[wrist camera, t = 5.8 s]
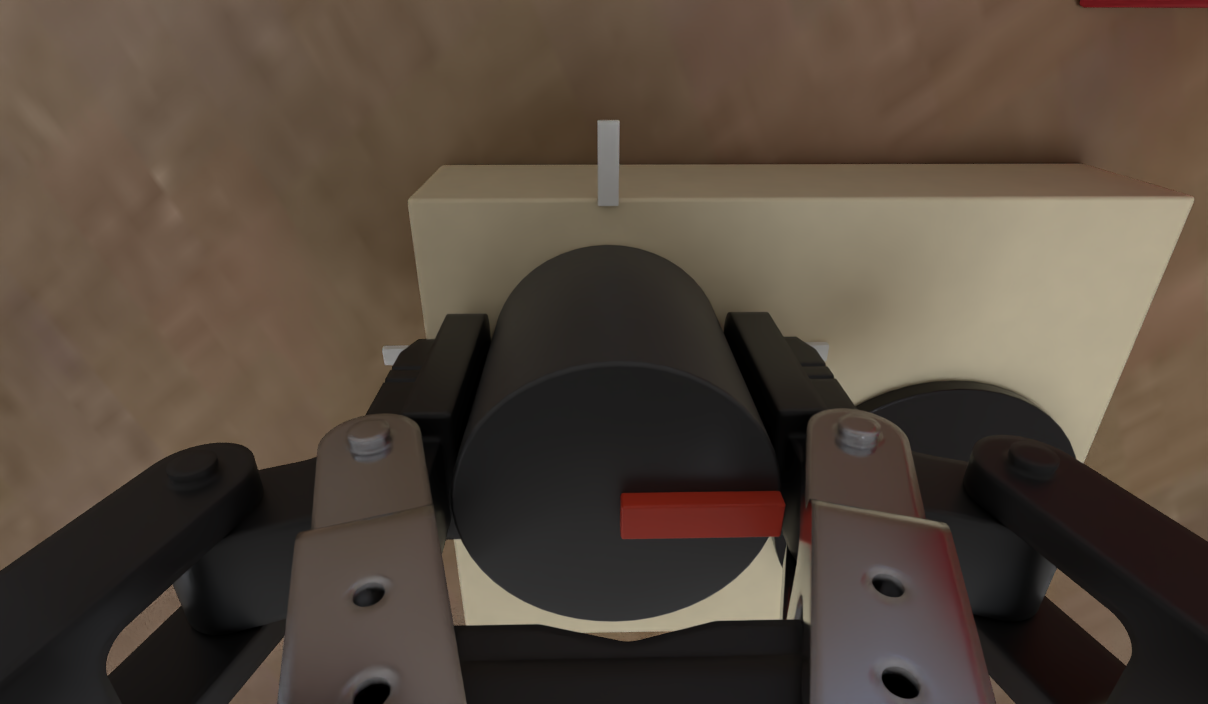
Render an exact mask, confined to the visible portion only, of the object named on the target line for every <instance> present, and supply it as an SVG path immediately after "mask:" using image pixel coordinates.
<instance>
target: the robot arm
mask: <svg viewBox="0 0 1208 704" xmlns="http://www.w3.org/2000/svg"><path fill="white" fill-rule="evenodd" d="M724 335H725V337H726V339H727V342H728V344H729V346H730V349H731V351H732V353H733V356H734V358H735V360H736V362H737V365H738V367H739V369H740V372H741V374H742V376H743V379H744V381H745V383H746V385H747V388H748V390H749V392H750V395H751V397H752V399H753V402H754V404H755V406H756V408H757V411H758V413H759V415H760V418H761V420H762V422H763V425H764V427H765V429H766V431H767V434H768V436H769V438H770V441H771V443H772V445H773V448H774V450H775V453H776V456H777V460H778V464H779V468H780V477H781V494H782V497H783V499H784V502H785V504H786V506H785V512H784V518H783V524H782V530H781V535H784V538H785V540H786V543H787V545H786V550H785V556H784V562H783V570H782V586H781V603H780V619H779V620H732V621H713V622H709V623H705V624H701V625H697V626H693V627H689V628H685V629H681V630H677V631H673V632H669V633H665V634H661V635H657V636H653V637H650V638H646V639H642V640H637V641H629V642H625V641H618V640H613V639H608V638H604V637H599V636H594V635H589V634H584V633H579V632H575V631H570V630H565V629H560V628H555V627H551V626H546V625H541V624H516V625H462V626H454V625H453V619H452V613H451V607H450V601H449V595H448V589H447V583H446V577H445V571H444V565H443V559H442V552H443V548H444V545H445V541H446V539H461V538H460V536H459V533H458V531H457V528H456V526H455V522H454V517H453V513H452V508H451V492H450V490H451V481H452V473H453V469H454V466H455V463H456V459H457V456H458V452H459V449H460V446H461V442H462V439H463V435H464V432H465V429H466V425H467V422H468V418H469V415H470V412H471V408H472V405H473V402H474V398H475V395H476V391H477V388H478V385H479V381H480V378H481V374H482V371H483V368H484V364H485V361H486V358H487V354H488V351H489V347H490V344H491V333H490V324H489V318H488V315H487V314H486V313H485V314H447V315H446V316H445V319H444V321H443V323H442V325H441V327H440V329H439V331H438V333H437V336H436V338H435V339H418V340H417V341H416V342H414V343H413V344H411V345H410V346H408V347H407V348H406V349H404V350H403V351H401V352H400V354H399V355H398V357H397V359H396V361H395V363H394V364H393V366H392V370H390V372H389V373H388V375H387V377H386V379H385V383H383V384H382V386H381V388H380V390H379V392H378V393H377V395H376V397H375V399H374V401H373V402H372V404H371V406H370V408H369V410H368V411H367V413H366V415H365V416H360V417H357V418H354V419H351V420H348V421H346V422H344V423H342V424H340V425H338V426H336V427H335V428H333V429H332V430H330V431H329V432H328V433H327V434H326V435H325V436H324V437H323V438H322V439H321V441H320V443H319V445H318V449H317V457H315V458H312V459H309V460H305V461H300V462H296V463H291V464H286V465H281V466H276V467H271V468H266V469H262V470H258V468H257V465H256V461H255V458H254V455H253V453H252V452H251V451H250V450H249V449H248V448H246V447H244V446H242V445H239V444H234V443H210V444H204V445H199V446H195V447H191V448H188V449H185V450H182V451H179V452H177V453H174V454H172V455H169V456H168V457H166V458H164V459H162V460H160V461H158V462H157V463H155V464H154V465H152V466H151V467H149V468H148V469H146V470H145V471H143V472H142V473H140V474H139V475H138V476H136V477H135V478H133V479H132V480H130V481H129V482H128V483H126V484H125V485H123V486H122V487H120V488H119V489H117V490H116V491H115V492H113V493H112V494H110V495H109V496H107V497H106V498H105V499H103V500H102V501H100V502H99V503H97V504H96V505H94V506H93V507H92V508H90V509H89V510H87V511H86V512H84V513H83V514H81V515H80V516H79V517H77V518H76V519H74V520H73V521H71V522H70V523H69V524H67V525H66V526H64V527H63V528H61V529H60V530H58V531H57V532H56V533H54V534H53V535H51V536H50V537H48V538H47V539H46V540H44V541H43V542H41V543H40V544H38V545H37V546H35V547H34V548H33V549H31V550H30V551H28V552H27V553H25V554H24V555H22V556H21V557H20V558H18V559H17V560H15V561H14V562H12V563H11V564H10V565H8V566H7V567H5V568H4V569H2V570H1V571H0V704H228V703H229V702H230V701H231V700H232V699H233V697H234V696H235V695H236V694H237V693H238V691H239V690H240V689H241V688H242V686H243V685H244V684H245V683H246V682H247V680H248V679H249V678H250V677H251V676H252V674H253V673H254V672H255V671H256V670H257V668H258V667H259V666H260V665H261V664H262V662H263V661H264V660H265V659H266V657H267V656H268V655H269V654H270V653H271V651H272V650H273V649H274V648H275V647H276V645H277V644H278V643H279V642H280V641H281V639H282V638H283V637H284V636H285V637H284V646H283V655H282V665H281V674H280V683H279V692H278V701H277V704H996V701H995V697H994V693H993V689H992V685H991V682H990V678H989V675H990V677H991V678H992V679H993V680H994V681H995V682H996V683H997V684H998V685H999V686H1000V687H1001V688H1002V689H1003V690H1004V692H1005V693H1006V694H1007V695H1008V696H1009V697H1010V698H1011V699H1012V700H1013V701H1014V702H1015V703H1016V704H1208V542H1207V541H1206V540H1204V539H1203V538H1201V537H1199V536H1198V535H1196V534H1195V533H1193V532H1191V531H1190V530H1188V529H1187V528H1185V527H1184V526H1182V525H1180V524H1179V523H1177V522H1176V521H1174V520H1172V519H1171V518H1169V517H1168V516H1166V515H1164V514H1163V513H1161V512H1160V511H1158V510H1156V509H1155V508H1153V507H1152V506H1150V505H1149V504H1147V503H1145V502H1144V501H1142V500H1141V499H1139V498H1137V497H1136V496H1134V495H1133V494H1131V493H1129V492H1128V491H1126V490H1125V489H1123V488H1122V487H1120V486H1118V485H1117V484H1115V483H1114V482H1112V481H1110V480H1109V479H1107V478H1106V477H1104V476H1102V475H1101V474H1099V473H1098V472H1096V471H1094V470H1093V469H1091V468H1090V467H1088V466H1087V465H1085V464H1083V463H1082V462H1080V461H1079V460H1077V459H1075V458H1074V457H1072V456H1071V455H1069V454H1067V453H1065V452H1064V451H1062V450H1060V449H1058V448H1056V447H1053V446H1051V445H1049V444H1046V443H1043V442H1040V441H1037V440H1034V439H1030V438H1025V437H1020V436H1014V435H993V436H988V437H984V438H982V439H980V440H978V441H977V442H976V443H975V445H974V447H973V450H972V453H971V456H970V459H969V462H966V461H961V460H955V459H949V458H944V457H938V456H933V455H927V454H923V453H918V452H915V451H911V448H910V443H909V440H908V437H907V436H906V434H905V433H904V432H903V431H902V430H901V429H900V428H899V427H898V426H896V425H895V424H894V423H892V422H890V421H889V420H887V419H885V418H883V417H881V416H878V415H875V414H873V413H869V412H866V411H861V410H858V409H857V408H856V407H855V405H854V404H853V402H852V401H851V399H850V398H849V396H848V395H847V394H846V392H845V391H844V389H843V388H842V386H841V385H840V383H839V382H838V381H837V379H834V375H833V373H832V372H831V370H830V369H829V368H828V366H826V363H825V362H824V360H823V359H822V357H821V356H820V355H819V353H818V352H817V350H816V349H815V348H813V347H812V346H810V345H809V344H807V343H805V342H804V341H802V340H801V339H799V338H798V337H796V336H795V337H783V335H782V333H781V332H780V330H779V328H778V327H777V325H776V324H775V322H774V320H773V319H772V317H771V315H770V314H769V313H768V312H728V313H727V315H726V319H725V324H724ZM1057 568H1058V569H1059V570H1060V571H1062V572H1063V573H1064V574H1065V575H1067V576H1068V577H1069V578H1070V579H1072V580H1073V581H1074V582H1075V583H1077V584H1078V585H1079V586H1080V587H1082V588H1083V589H1084V590H1085V591H1087V592H1088V593H1089V594H1090V595H1091V596H1093V597H1094V598H1095V599H1096V600H1098V601H1099V602H1100V603H1101V604H1103V605H1104V606H1105V607H1106V608H1108V609H1109V610H1110V611H1111V612H1112V613H1113V614H1114V615H1115V616H1116V617H1117V618H1118V619H1119V620H1120V621H1121V623H1122V624H1123V625H1124V627H1125V629H1126V631H1127V632H1128V635H1129V637H1130V640H1131V644H1132V656H1131V658H1130V661H1129V662H1128V664H1127V666H1126V665H1124V664H1123V663H1122V662H1121V661H1120V660H1119V659H1117V658H1116V657H1115V656H1114V655H1113V654H1112V653H1111V652H1109V651H1108V650H1107V649H1106V648H1105V647H1104V646H1102V645H1101V644H1100V643H1099V642H1098V641H1097V640H1095V639H1094V638H1093V637H1092V636H1091V635H1090V634H1088V633H1087V632H1086V631H1085V630H1084V629H1083V628H1082V627H1080V626H1079V625H1078V624H1077V623H1076V622H1075V621H1073V620H1072V619H1071V618H1070V617H1069V616H1068V615H1066V614H1065V613H1064V612H1063V611H1062V610H1061V609H1060V608H1058V607H1057V606H1056V605H1055V604H1054V603H1053V602H1051V601H1050V600H1049V599H1048V598H1047V597H1046V596H1045V594H1046V591H1047V589H1048V587H1049V585H1050V582H1051V580H1052V578H1053V575H1054V573H1055V571H1056V569H1057ZM172 584H173V586H174V589H175V591H176V593H177V596H178V598H179V601H180V603H181V605H182V606H180V607H179V608H178V609H177V610H176V611H175V612H174V613H173V614H172V615H171V616H170V617H169V618H168V619H167V620H166V621H165V622H164V623H163V624H162V625H161V626H160V627H159V628H157V629H156V630H155V631H154V632H153V633H152V634H151V635H150V636H149V637H148V638H147V639H146V640H145V641H144V642H143V643H142V644H141V645H140V646H139V647H138V648H137V649H136V650H134V651H133V652H132V653H131V654H130V655H129V656H128V657H127V658H126V659H125V660H124V661H123V662H122V663H121V664H120V665H119V666H118V667H117V668H116V669H115V670H114V671H113V672H111V673H110V674H109V675H108V676H107V673H106V661H107V656H108V653H109V651H110V648H111V646H112V644H113V642H114V641H115V639H116V638H117V636H118V635H119V634H120V632H121V631H122V630H123V629H124V628H125V627H126V626H127V625H128V624H129V623H130V622H131V621H133V620H134V619H135V618H136V617H137V616H138V615H139V614H140V613H141V612H142V611H144V610H145V609H146V608H147V607H148V606H149V605H150V604H151V603H152V602H153V601H155V600H156V599H157V598H158V597H159V596H160V595H161V594H162V593H163V592H164V591H166V590H167V589H168V588H169V587H170V586H171V585H172Z"/></svg>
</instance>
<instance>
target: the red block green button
mask: <svg viewBox="0 0 1208 704" xmlns="http://www.w3.org/2000/svg"><path fill="white" fill-rule="evenodd" d="M1080 5H1081V6H1082V7H1144V8H1208V0H1080Z"/></svg>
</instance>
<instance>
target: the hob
mask: <svg viewBox="0 0 1208 704" xmlns="http://www.w3.org/2000/svg"><path fill="white" fill-rule="evenodd" d="M619 137H620V122H619V120H598V165H443V166H441V167H440V168H439V169H438V170H437V171H436V172H435V173H434V174H433V175H432V176H431V177H430V178H429V179H428V180H427V181H426V182H425V183H424V184H423V185H422V186H421V187H420V188H419V189H418V190H417V191H416V192H415V193H414V194H413V195H412V196H411V197H410V198H409V199H408V210H409V217H410V224H411V232H412V239H413V246H414V254H415V261H416V268H417V275H418V283H419V290H420V297H421V304H422V312H423V319H424V326H425V334H426V339H435V338H436V336H437V333H438V331H439V329H440V327H441V325H442V323H443V321H444V319H445V316H446V315H447V314H485V313H486V314H487V315H488V318H489V324H490V333H491V341H492V337H493V334H494V330H495V327H496V324H497V320H498V317H499V314H500V312H501V310H502V308H503V306H504V303H505V302H506V300H507V299H508V297H509V295H510V294H511V292H512V291H513V290H514V288H515V287H516V286H517V285H518V284H519V283H520V282H521V280H522V279H523V278H525V277H526V276H527V275H528V274H529V273H530V272H531V271H533V270H534V269H535V268H537V267H538V266H540V265H541V264H543V263H544V262H546V261H548V260H550V259H552V258H554V257H556V256H558V255H560V254H563V253H566V252H569V251H572V250H575V249H579V248H584V247H589V246H598V245H620V246H628V247H633V248H639V249H642V250H645V251H648V252H652V253H655V254H657V255H659V256H661V257H663V258H665V259H667V260H669V261H671V262H672V263H674V264H675V265H677V266H678V267H680V268H681V269H683V270H684V271H685V272H686V273H687V274H688V275H689V276H691V277H692V278H693V279H694V280H695V282H696V283H697V284H698V285H699V286H700V287H701V289H702V290H703V291H704V293H705V295H706V296H707V298H708V299H709V301H710V303H711V305H712V307H713V310H714V312H715V314H716V316H717V319H718V321H719V323H720V326H721V328H722V330H723V332H724V324H725V319H726V315H727V313H728V312H768V313H769V314H770V315H771V317H772V319H773V320H774V322H775V324H776V325H777V327H778V328H779V330H780V332H781V333H782V335H783V337H795V336H796V337H798V338H799V339H801V340H802V341H804V342H805V343H807V344H809V345H810V346H812V347H813V348H815V349H816V350H817V352H818V353H819V355H820V356H821V357H822V359H823V360H824V362H825V363H826V366H828V368H829V369H830V370H831V372H832V373H833V375H834V379H837V381H838V382H839V383H840V385H841V386H842V388H843V389H844V391H845V392H846V394H847V395H848V396H849V398H850V399H851V401H852V402H853V404H854V405H855V406H857V405H859V404H861V403H863V402H865V401H867V400H869V399H871V398H874V397H876V396H879V395H881V394H884V393H886V392H889V391H892V390H896V389H899V388H903V387H906V386H910V385H916V384H921V383H927V382H935V381H950V380H956V381H974V382H980V383H985V384H991V385H995V386H998V387H1002V388H1005V389H1008V390H1011V391H1013V392H1015V393H1017V394H1019V395H1021V396H1023V397H1025V398H1027V399H1029V400H1030V401H1032V402H1033V403H1034V404H1036V405H1037V406H1039V407H1040V408H1041V409H1042V410H1044V411H1045V412H1046V413H1047V414H1048V415H1049V416H1051V418H1052V419H1053V420H1054V421H1055V422H1056V423H1057V424H1058V425H1059V426H1060V427H1061V428H1062V429H1063V431H1064V433H1065V434H1066V436H1067V437H1068V439H1069V440H1070V443H1071V445H1072V448H1073V450H1074V453H1075V455H1076V459H1077V460H1079V461H1080V462H1082V463H1084V461H1085V458H1086V456H1087V454H1088V451H1089V449H1090V447H1091V444H1092V442H1093V439H1094V437H1095V435H1096V432H1097V430H1098V428H1099V425H1100V423H1101V420H1102V418H1103V416H1104V413H1105V411H1106V409H1107V406H1108V404H1109V402H1110V399H1111V397H1112V394H1113V392H1114V390H1115V387H1116V385H1117V383H1118V380H1119V378H1120V375H1121V373H1122V371H1123V368H1124V366H1125V364H1126V361H1127V359H1128V357H1129V354H1130V352H1131V349H1132V347H1133V345H1134V342H1135V340H1136V338H1137V335H1138V333H1139V330H1140V328H1141V326H1142V323H1143V321H1144V319H1145V316H1146V314H1147V312H1148V309H1149V307H1150V304H1151V302H1152V300H1153V297H1154V295H1155V293H1156V290H1157V288H1158V286H1159V283H1160V281H1161V278H1162V276H1163V274H1164V271H1165V269H1166V267H1167V264H1168V262H1169V259H1170V257H1171V255H1172V252H1173V250H1174V248H1175V245H1176V243H1177V241H1178V238H1179V236H1180V233H1181V231H1182V229H1183V226H1184V224H1185V222H1186V219H1187V217H1188V214H1189V212H1190V210H1191V207H1192V205H1193V203H1194V197H1193V196H1191V195H1188V194H1184V193H1181V192H1177V191H1174V190H1171V189H1167V188H1164V187H1160V186H1157V185H1154V184H1150V183H1147V182H1143V181H1140V180H1137V179H1133V178H1130V177H1126V176H1123V175H1120V174H1116V173H1113V172H1109V171H1106V170H1103V169H1099V168H1096V167H1092V166H1089V165H1086V164H686V165H619ZM408 346H410V345H399V346H384V347H383V349H382V351H383V357H384V363H385V365H393V364H394V363H395V361H396V359H397V357H398V355H399V354H400V352H401V351H403V350H404V349H406V348H407V347H408ZM454 544H455V552H456V559H457V566H458V574H459V581H460V588H461V595H462V603H463V610H464V617H465V624H466V625H516V624H541V625H546V626H551V627H555V628H560V629H565V630H570V631H575V632H579V633H596V632H651V631H677V630H681V629H685V628H689V627H693V626H697V625H701V624H705V623H709V622H713V621H732V620H779V619H780V603H781V586H782V570H783V569H782V567H781V565H780V563H779V560H778V557H777V555H776V552H775V548H774V545H773V541H772V537H769V538H768V540H767V541H766V543H765V545H764V546H763V548H762V550H761V551H760V553H759V554H758V555H757V556H756V558H755V559H754V560H753V561H752V563H751V564H750V565H749V566H748V567H747V568H746V569H745V570H744V571H743V572H742V573H741V574H740V575H739V576H738V577H737V578H736V579H734V580H733V581H732V582H731V583H729V584H728V585H727V586H725V587H724V588H723V589H721V590H720V591H718V592H716V593H715V594H713V595H711V596H710V597H708V598H706V599H704V600H702V601H700V602H698V603H696V604H694V605H692V606H689V607H687V608H684V609H681V610H678V611H675V612H673V613H669V614H665V615H661V616H657V617H653V618H647V619H641V620H634V621H618V622H607V621H590V620H582V619H575V618H571V617H566V616H561V615H557V614H554V613H551V612H548V611H545V610H542V609H539V608H537V607H535V606H533V605H530V604H528V603H526V602H524V601H522V600H520V599H518V598H517V597H515V596H513V595H511V594H510V593H508V592H507V591H505V590H504V589H503V588H501V587H500V586H499V585H497V584H496V583H495V582H493V581H492V580H491V579H490V578H489V577H488V576H487V575H486V574H485V573H484V572H483V571H482V570H481V569H480V568H479V566H478V565H477V564H476V563H475V561H474V560H473V559H472V558H471V556H470V555H469V553H468V551H467V550H466V548H465V546H464V545H463V543H462V541H461V539H454Z"/></svg>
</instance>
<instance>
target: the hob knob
mask: <svg viewBox="0 0 1208 704" xmlns="http://www.w3.org/2000/svg"><path fill="white" fill-rule="evenodd" d="M450 492H451V508H452V513H453V517H454V522H455V526H456V528H457V531H458V533H459V536H460V538H461V541H462V543H463V545H464V546H465V548H466V550H467V551H468V553H469V555H470V556H471V558H472V559H473V560H474V561H475V563H476V564H477V565H478V566H479V568H480V569H481V570H482V571H483V572H484V573H485V574H486V575H487V576H488V577H489V578H490V579H491V580H492V581H493V582H495V583H496V584H497V585H499V586H500V587H501V588H503V589H504V590H505V591H507V592H508V593H510V594H511V595H513V596H515V597H517V598H518V599H520V600H522V601H524V602H526V603H528V604H530V605H533V606H535V607H537V608H539V609H542V610H545V611H548V612H551V613H554V614H557V615H561V616H566V617H571V618H575V619H582V620H590V621H607V622H618V621H634V620H641V619H647V618H653V617H657V616H661V615H665V614H669V613H673V612H675V611H678V610H681V609H684V608H687V607H689V606H692V605H694V604H696V603H698V602H700V601H702V600H704V599H706V598H708V597H710V596H711V595H713V594H715V593H716V592H718V591H720V590H721V589H723V588H724V587H725V586H727V585H728V584H729V583H731V582H732V581H733V580H734V579H736V578H737V577H738V576H739V575H740V574H741V573H742V572H743V571H744V570H745V569H746V568H747V567H748V566H749V565H750V564H751V563H752V561H753V560H754V559H755V558H756V556H757V555H758V554H759V553H760V551H761V550H762V548H763V546H764V545H765V543H766V541H767V540H768V538H769V537H779V536H780V535H781V530H782V524H783V518H784V512H785V506H786V504H785V502H784V499H783V497H782V494H781V477H780V468H779V464H778V460H777V456H776V453H775V450H774V448H773V445H772V443H771V441H770V438H769V436H768V434H767V431H766V429H765V427H764V425H763V422H762V420H761V418H760V415H759V413H758V411H757V408H756V406H755V404H754V402H753V399H752V397H751V395H750V392H749V390H748V388H747V385H746V383H745V381H744V379H743V376H742V374H741V372H740V369H739V367H738V365H737V362H736V360H735V358H734V356H733V353H732V351H731V349H730V346H729V344H728V342H727V339H726V337H725V335H724V332H723V330H722V328H721V326H720V323H719V321H718V319H717V316H716V314H715V312H714V310H713V307H712V305H711V303H710V301H709V299H708V298H707V296H706V295H705V293H704V291H703V290H702V289H701V287H700V286H699V285H698V284H697V283H696V282H695V280H694V279H693V278H692V277H691V276H689V275H688V274H687V273H686V272H685V271H684V270H683V269H681V268H680V267H678V266H677V265H675V264H674V263H672V262H671V261H669V260H667V259H665V258H663V257H661V256H659V255H657V254H655V253H652V252H648V251H645V250H642V249H639V248H633V247H628V246H620V245H598V246H589V247H584V248H579V249H575V250H572V251H569V252H566V253H563V254H560V255H558V256H556V257H554V258H552V259H550V260H548V261H546V262H544V263H543V264H541V265H540V266H538V267H537V268H535V269H534V270H533V271H531V272H530V273H529V274H528V275H527V276H526V277H525V278H523V279H522V280H521V282H520V283H519V284H518V285H517V286H516V287H515V288H514V290H513V291H512V292H511V294H510V295H509V297H508V299H507V300H506V302H505V303H504V306H503V308H502V310H501V312H500V314H499V317H498V320H497V324H496V327H495V330H494V334H493V337H492V341H491V344H490V347H489V351H488V354H487V358H486V361H485V364H484V368H483V371H482V374H481V378H480V381H479V385H478V388H477V391H476V395H475V398H474V402H473V405H472V408H471V412H470V415H469V418H468V422H467V425H466V429H465V432H464V435H463V439H462V442H461V446H460V449H459V452H458V456H457V459H456V463H455V466H454V469H453V473H452V481H451V490H450Z"/></svg>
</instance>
